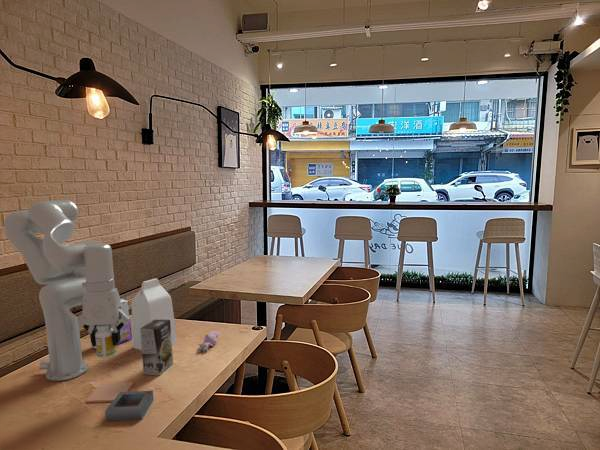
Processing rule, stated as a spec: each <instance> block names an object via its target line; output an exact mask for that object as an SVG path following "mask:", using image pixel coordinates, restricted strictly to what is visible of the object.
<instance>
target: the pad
mask: <svg viewBox="0 0 600 450" xmlns="http://www.w3.org/2000/svg"><path fill="white" fill-rule="evenodd" d="M133 385H134V382H133V381H132V382H131V381H130V382H113V383H112V382H111V383H109V382H108V383H100V385H99V386H98V387H97V388H96V389H95V390H94V391H93V392H92V393H91V395H89V396H88V398H87V399H86V400H85V403H86V404H89V403H91V404H92V403H108V402H109V403H112V401H113V400H114V399H115V398H116V396H117V395H118V394H119V393H120V392H129V390H131V388H132V386H133Z"/></svg>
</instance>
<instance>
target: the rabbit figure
mask: <svg viewBox="0 0 600 450" xmlns="http://www.w3.org/2000/svg"><path fill="white" fill-rule="evenodd" d="M220 333H221V332H220V331H218V332H217V331H211V332H209V334H205V336H204V339H203V342H201V343H198V347H197V349H196V353H197V354H199V352H200V353H201V352H202V354H203V355H204V354H205V353H207V352H208V350H209V348H210V347H214V345H215V344H216V343H217V338H218V337H219V335H220Z"/></svg>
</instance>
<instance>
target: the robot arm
mask: <svg viewBox="0 0 600 450" xmlns="http://www.w3.org/2000/svg"><path fill="white" fill-rule="evenodd" d="M78 219H79V209H78V206H77V204H75V203H74V201H72V200H69V199H56V200H55V199H52V200H42V201H36V202H34V203H33V204H31V205H30V206H29V208H28V209H24V210H23V209H22V210H17V211H13V212H10V213H9V214H8V215H6V217H5V219H4V221H3V222H4V223H3V227H4V232H5V235H6V237H7V239H8V241H9V242H10V243H11V244H12V246H13V247H14V248H15V249H16V250H17V251H18V252H19V254H20V255H21V257H22V258H23V260H24V262H25V264H26V266H27V268H28V270H29V272H30V273H31V276H32V277H33V279H34V281H35V282H36V283H37V284H39V285H45V286H43V287H42V288H41V289H40V291H39V293H38V298H39V303H40V306H41V309H42V314H43V317H44V324H45V331H46V339H47V340H46V341H47V347H48V348H47V349H48V358H49V359H48V360H41V361H40V362H39V370H46V372H45V378H46V380H48V381H52V382H60V381H67V380H72V379H74V378H77V377H79V376H82V374H84V373H86V372H88V371H87V370H89V364H88V363H87V362H86V361H84V360H83V354H82V343H81V334H80V333H81V332H80V326H82V327H83V328H84V330H85V331H87V333H88V334H89V337H90V343H91V347H92V346H93V347H95V346H96V339H95V333H96V332H97V331H98V330H96V328H97V325H111V327H112V329H113V333H112V340H113V345H114V346H116V347H117V345H119V344H118V343H119V341H120V329H121V328H122V327H123V326H124V325H125V324H126V323H127V322H128V321H129V320H130V321H131V317H130V318H129V317H128V316H127V315H126V314H125V313H124V312H123V311H122V305H121V300H120V299H121V296H120V293H119V290H118V288H117V287H116V286H115V285H116V283H115V274H114V262H113V249H112V246H111V245H110V244H108V243H101V242H99V241H96V240H89V241H81V242H75V243H74V242H73V243H68V244H64V243H65V242H66V241H68V240H70V239H71V238H72V236H73V235H74V233H75V231H76V230H75V229H76V228H75V227H76V226H75V223H76V222H77V220H78ZM34 234H43V235H44V237H43V239H41V237H39V236H36V235H34ZM81 305H82V315H81V316H80V318H79V319H78V317H77V316H76V315H75V314H74V313H73V312H71V310H70V309H73V308H74V307H79V306H81ZM120 319H123V321H122V322H121V323H119V320H120Z"/></svg>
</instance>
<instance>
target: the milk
mask: <svg viewBox="0 0 600 450" xmlns="http://www.w3.org/2000/svg"><path fill="white" fill-rule="evenodd" d="M132 298H133V299H132V300H131V333H132V349H136V350H140V351H142V345H141V330H140V328H142V327H143V326H145V325H147V324H148V323H150V322H151V321H153V320H170V324H171V339H172V345H174V344H177V343H178V338H177V328H176V321H175V316H174V315H175V314H174V307H173V300H172V297H171V295H170V294H169V292H167V290H166V289H165V288H164V287H163V286H162V285H161V283H160V280H159V278H156V277H155V278H152V279H148V280H146V281H145V280H144V281H142V283H141V288H140V290H139V291H138V292H137V294H135V296H134V297H132Z"/></svg>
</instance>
